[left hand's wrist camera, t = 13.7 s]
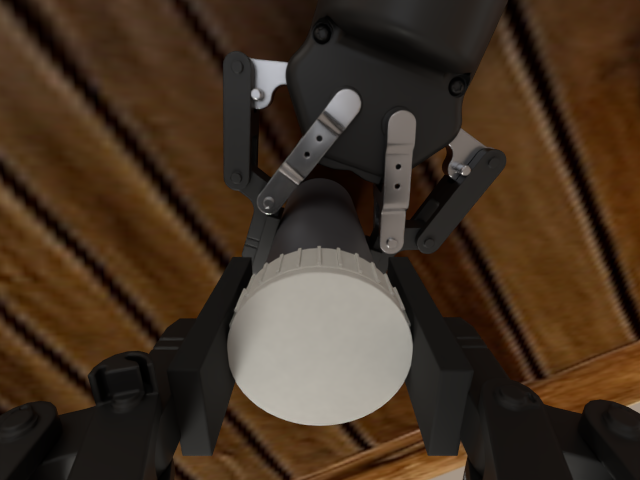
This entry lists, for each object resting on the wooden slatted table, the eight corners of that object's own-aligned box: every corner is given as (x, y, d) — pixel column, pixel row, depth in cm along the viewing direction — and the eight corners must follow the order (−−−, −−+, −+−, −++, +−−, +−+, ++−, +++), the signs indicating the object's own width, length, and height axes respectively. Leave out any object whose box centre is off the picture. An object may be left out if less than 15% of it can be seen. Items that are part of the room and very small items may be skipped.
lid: (224, 368, 13) (210, 408, 11) (255, 225, 11) (242, 247, 9) (372, 399, 13) (380, 442, 12) (426, 268, 11) (445, 296, 10)
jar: (274, 224, 25) (216, 370, 11) (305, 165, 24) (285, 247, 10) (332, 254, 26) (348, 425, 12) (366, 198, 25) (429, 319, 11)
